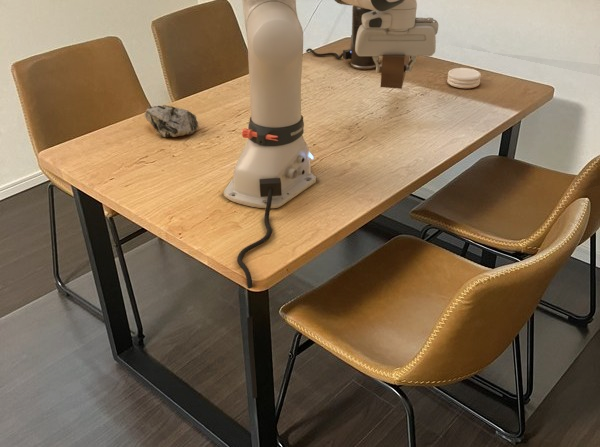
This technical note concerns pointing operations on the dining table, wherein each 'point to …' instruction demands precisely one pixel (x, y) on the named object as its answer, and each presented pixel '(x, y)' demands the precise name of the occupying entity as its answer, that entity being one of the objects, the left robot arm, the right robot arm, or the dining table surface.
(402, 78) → the bar
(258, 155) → the left robot arm
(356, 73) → the dining table surface
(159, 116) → the rock
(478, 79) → the coaster
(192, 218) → the dining table surface
